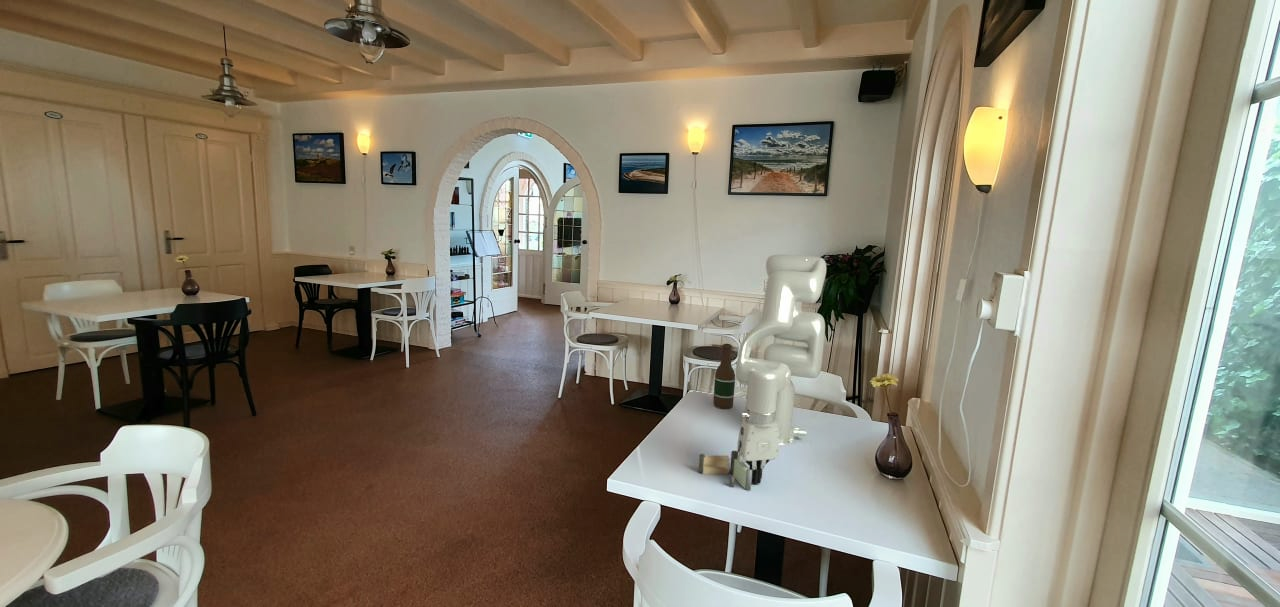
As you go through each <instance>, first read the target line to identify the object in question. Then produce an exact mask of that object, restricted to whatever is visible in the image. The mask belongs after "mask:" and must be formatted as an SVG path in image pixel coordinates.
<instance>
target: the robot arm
mask: <svg viewBox="0 0 1280 607" xmlns="http://www.w3.org/2000/svg"><path fill="white" fill-rule="evenodd" d="M765 271H766V275H767V277H768V278H767V281H766V288H765V293H764V298H763V305H762V311H761V318H760V321H759V322H758V324H757V325H755V326H754V327H753V328H752V329H751V330H750V331H749V332H747V334H746V335H745V336H744V337H743V340H742V341H741V344H740V346H739V351H738V356H737V361H736V368H735V379H736V380H737V381H738V383H740V384H741V385H744V386H747V388H746V390H747V392H746V402H745V404H746V405H745V409H744V411H741V413H740V417H741V418H742V421H741V424H740V429H739V433H738V439H737V449H736V451H737V452H738V458H737V460H738V461H739V462H740V463H744V464H747V465H748V466H749V467H748V468H749V469H751V470H752V481H751V483H753V484H755V485H757V484H761V483H762V482H761V481H762V477H763V470H764V469H765V467H766V465H767V464H768V463H769V462H770V461H773V460H776V459H777V458H778V457H779V454H780V446H790V445H793V444H795V443H796V437H797V436H800V437H801V436H802V437H805V436H806V435H807V430H806V429H800V427H797V426H796V427H793V426H792V425H793V416H794V415H793V413H794V404H795V395H796V394H795V393H796V390H795V388H796V387H795V385H794V383H793V380H792V376H793V377H799V378H807V379H816V378H817V377H819V376H820V374H821V370H822V366H823V356H824V346H825V337H826V336H825V335H826V321H825V319H824V317H823V315H822V314H820V313H818V312H814V311H813V312H811V311H803V310H802V305H803V304H802V303H810V304H814V303H816V302H818V300H819V298H820V297H821V294H822V291H823V287H824V282H825V280H826V275H827V263H826V260H825V259H824V258H822V257H819V256H813V255H800V254H799V255H797V254H772V255H770V256H768V257H767V258H766V261H765ZM770 336H773V337H774V338H776V339H778V340H784V341H790V342H798V343H799V342H800V343H805V344H806V345H807V346H802V345H796V344H789V343H780V342H779V343H778V342H776V343H775V342H774V343H771V344H769V345H767V346H766V347H765V349H764V352H763V359H761V358H752V357H750V355H751V351H752V349H753V347H755V345H756V343H758V342H759V341H761V340H763V339H765V338H768V337H770Z"/></svg>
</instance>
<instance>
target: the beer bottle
mask: <svg viewBox="0 0 1280 607" xmlns="http://www.w3.org/2000/svg"><path fill="white" fill-rule="evenodd" d="M721 347H722V351H721V360H720V364H719V365H718V367H717V368H716V370H715V373H714V387H713V400H712V401H713V406H715V407H714V408H718V409H721V410H728V409H733V406H734V398H735V386H736V385H735V384H736V372H735V370H734V368H733V366H732V349H733V346H732V344H730V343H724V344H722V346H721Z"/></svg>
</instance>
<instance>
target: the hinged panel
mask: <svg viewBox="0 0 1280 607" xmlns="http://www.w3.org/2000/svg"><path fill="white" fill-rule="evenodd" d="M732 476H734V477H735V480H737V482H738V483H739V484H740V485H741V486H742V487H743V489H744V490H745V491H747V492H748V491H751V489H752V470H751V469H749V467H748V466H747V465H746V463H740V462H739V461H738V460H737V459H734V472H733V474H732Z"/></svg>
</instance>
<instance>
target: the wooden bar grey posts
mask: <svg viewBox="0 0 1280 607" xmlns="http://www.w3.org/2000/svg"><path fill="white" fill-rule="evenodd" d="M738 454H739V453H738V451H737V450H732V451H731V454H730V457H729V455H713V454H712V455H709V454H708V455H705V454H704V453H701V454H699V459H698V460H699V462H698V474H699V475H700V474H701V475H728V474H731V475H730V476H729V487H730V488H734V487H735V480H736V478H735V477H734V476H733V472H734V459H737V458H738Z"/></svg>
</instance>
